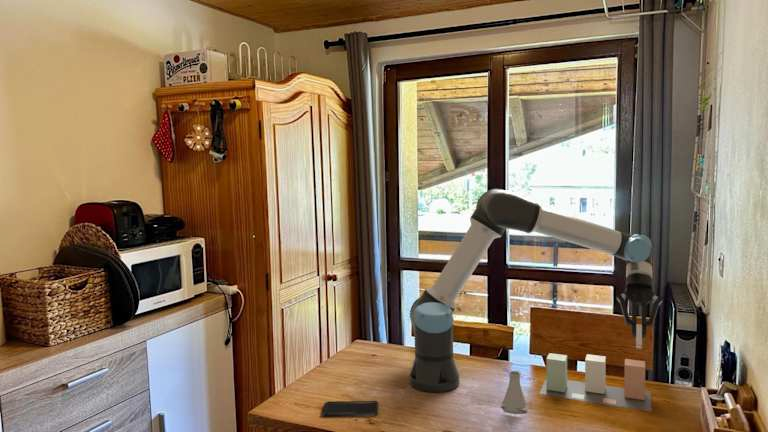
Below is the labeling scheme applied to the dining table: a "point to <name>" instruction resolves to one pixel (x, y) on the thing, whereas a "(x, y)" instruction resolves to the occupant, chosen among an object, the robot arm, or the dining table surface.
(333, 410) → the phone
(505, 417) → the dining table surface
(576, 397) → the grey board
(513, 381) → the flask
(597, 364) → the cream tall block
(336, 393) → the dining table surface
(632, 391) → the pink tall block
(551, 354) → the pale green tall block
